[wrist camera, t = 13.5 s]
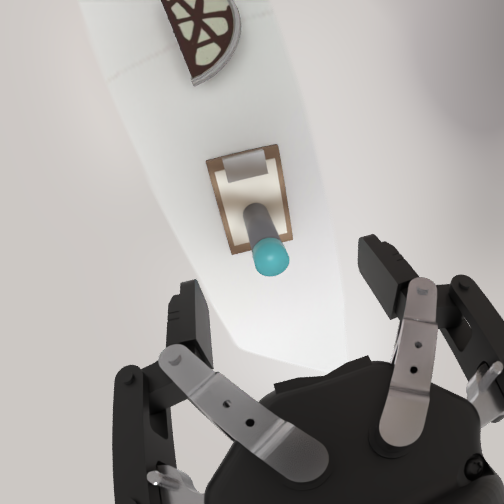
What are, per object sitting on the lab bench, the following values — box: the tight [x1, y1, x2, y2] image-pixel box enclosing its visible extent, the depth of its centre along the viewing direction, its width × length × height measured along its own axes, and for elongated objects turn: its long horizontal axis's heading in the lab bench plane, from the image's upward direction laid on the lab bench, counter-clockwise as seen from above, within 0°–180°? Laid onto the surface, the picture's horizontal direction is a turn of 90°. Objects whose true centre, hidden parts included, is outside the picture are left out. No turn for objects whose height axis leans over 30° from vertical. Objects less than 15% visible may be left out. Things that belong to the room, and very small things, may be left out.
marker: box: [243, 203, 289, 276], centre depth 34 cm, size 4×4×11 cm
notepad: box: [206, 144, 293, 255], centre depth 38 cm, size 14×9×2 cm, turn 12°
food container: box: [161, 0, 241, 86], centre depth 22 cm, size 12×6×10 cm, turn 18°
